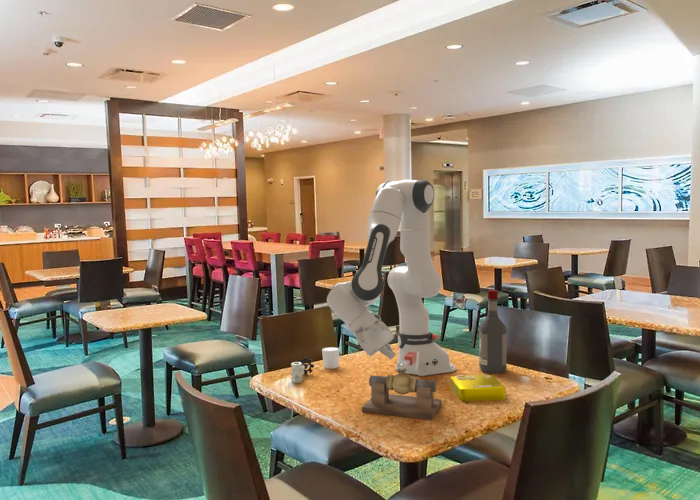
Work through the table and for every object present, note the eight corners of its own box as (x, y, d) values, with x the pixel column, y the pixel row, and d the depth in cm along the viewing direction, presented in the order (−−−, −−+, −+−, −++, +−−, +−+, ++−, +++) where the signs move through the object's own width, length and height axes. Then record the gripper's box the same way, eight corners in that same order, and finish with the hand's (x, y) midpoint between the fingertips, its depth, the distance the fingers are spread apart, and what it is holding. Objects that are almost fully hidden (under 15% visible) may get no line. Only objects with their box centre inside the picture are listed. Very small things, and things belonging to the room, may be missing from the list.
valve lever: (408, 360, 180) (408, 351, 179) (417, 360, 179) (417, 352, 178) (395, 372, 166) (395, 363, 165) (405, 373, 164) (405, 363, 164)
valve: (303, 383, 193) (314, 374, 205) (303, 365, 193) (314, 357, 205) (285, 382, 195) (297, 373, 207) (285, 364, 195) (297, 356, 206)
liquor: (502, 367, 212) (502, 288, 210) (507, 373, 202) (507, 292, 201) (478, 366, 212) (478, 289, 211) (482, 373, 203) (482, 292, 202)
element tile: (460, 403, 172) (460, 387, 172) (448, 388, 187) (448, 374, 187) (507, 401, 173) (507, 386, 173) (492, 386, 188) (492, 372, 188)
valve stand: (376, 397, 177) (375, 362, 177) (441, 404, 170) (441, 367, 169) (361, 411, 164) (361, 374, 164) (431, 419, 157) (431, 380, 156)
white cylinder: (326, 369, 211) (326, 351, 210) (319, 365, 217) (319, 348, 216) (342, 367, 214) (342, 349, 213) (335, 363, 220) (334, 346, 220)
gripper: (359, 325, 170) (390, 358, 167) (379, 314, 189) (407, 344, 186) (346, 338, 172) (376, 372, 169) (367, 326, 191) (395, 356, 188)
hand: (393, 357), depth 178 cm, fingers closed
